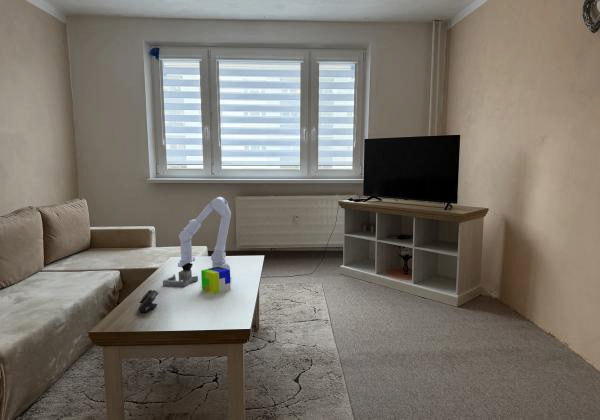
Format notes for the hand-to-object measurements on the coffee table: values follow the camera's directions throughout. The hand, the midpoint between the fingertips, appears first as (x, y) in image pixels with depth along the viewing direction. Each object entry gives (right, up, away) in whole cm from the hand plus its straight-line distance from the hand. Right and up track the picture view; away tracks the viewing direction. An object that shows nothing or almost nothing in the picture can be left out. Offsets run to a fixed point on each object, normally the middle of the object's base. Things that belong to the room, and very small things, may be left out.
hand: (187, 276), depth 226 cm
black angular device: (-4, -7, -46) cm, 47 cm away
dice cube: (0, -2, -3) cm, 4 cm away
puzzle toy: (+20, -3, -20) cm, 28 cm away
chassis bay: (-2, -2, -8) cm, 8 cm away
